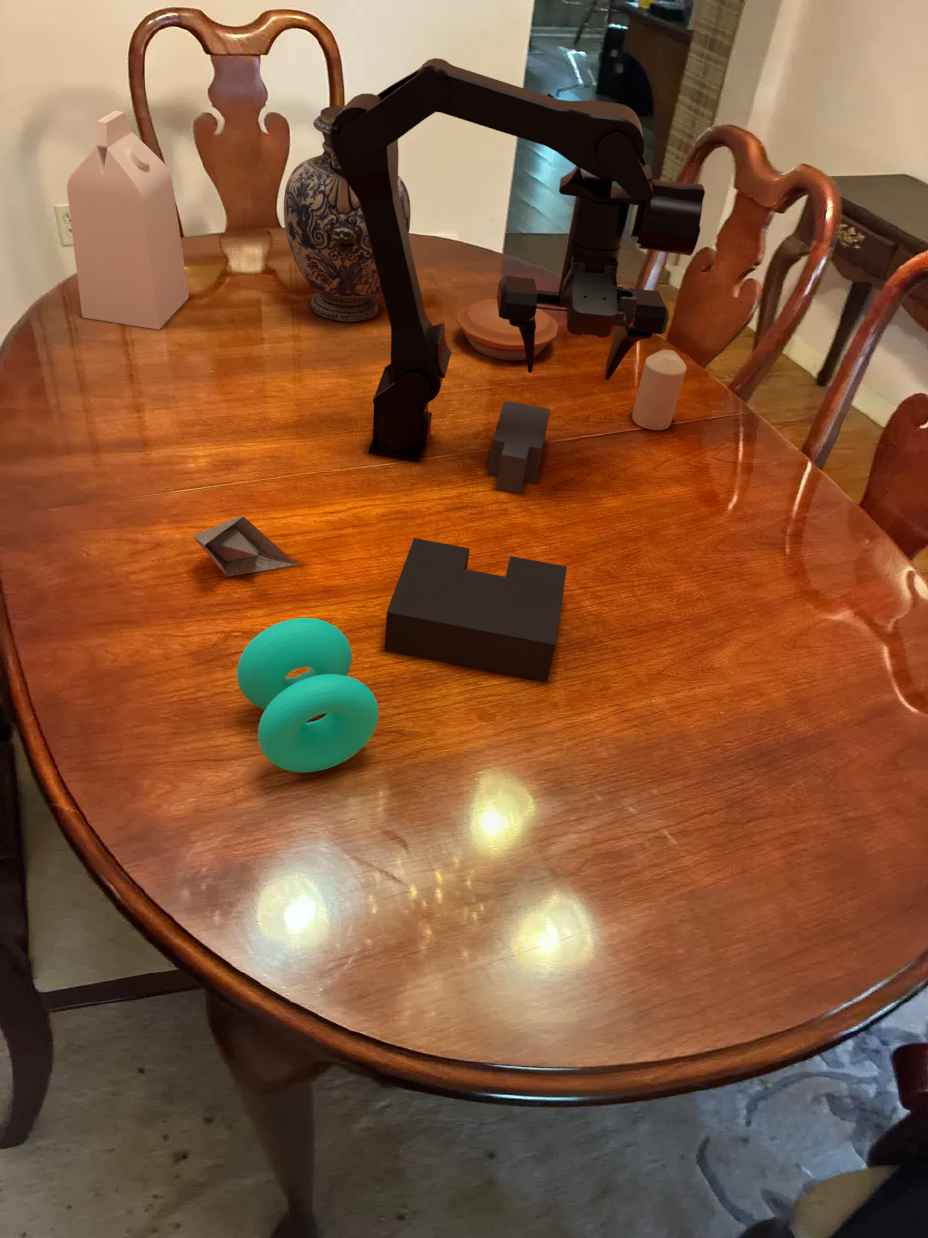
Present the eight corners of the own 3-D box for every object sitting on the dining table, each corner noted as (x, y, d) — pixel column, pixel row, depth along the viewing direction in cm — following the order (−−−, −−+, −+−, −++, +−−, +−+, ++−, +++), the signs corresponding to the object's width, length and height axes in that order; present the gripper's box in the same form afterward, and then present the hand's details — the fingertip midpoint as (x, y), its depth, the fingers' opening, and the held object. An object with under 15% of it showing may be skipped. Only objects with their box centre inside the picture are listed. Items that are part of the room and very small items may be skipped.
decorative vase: (400, 344, 139) (412, 141, 120) (275, 331, 138) (268, 125, 119) (408, 287, 155) (420, 101, 136) (296, 275, 153) (293, 85, 135)
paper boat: (269, 519, 101) (324, 538, 96) (254, 576, 102) (308, 598, 96) (175, 498, 92) (231, 519, 86) (160, 561, 92) (214, 585, 87)
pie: (571, 343, 145) (577, 312, 141) (523, 378, 134) (528, 346, 131) (488, 313, 150) (492, 282, 147) (435, 344, 140) (438, 312, 136)
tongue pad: (484, 487, 112) (489, 452, 109) (499, 434, 122) (504, 400, 119) (532, 496, 112) (539, 461, 109) (543, 442, 122) (550, 408, 118)
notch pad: (384, 650, 89) (386, 612, 86) (410, 575, 98) (413, 537, 95) (547, 682, 88) (555, 644, 85) (558, 603, 97) (567, 566, 94)
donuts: (265, 792, 76) (260, 710, 69) (237, 706, 82) (229, 624, 76) (380, 761, 79) (386, 680, 73) (344, 681, 86) (346, 600, 79)
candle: (669, 433, 127) (689, 366, 120) (630, 426, 127) (647, 358, 120) (671, 414, 131) (689, 348, 124) (632, 407, 131) (649, 341, 125)
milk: (116, 285, 144) (88, 99, 126) (188, 297, 143) (170, 111, 126) (82, 317, 135) (47, 121, 117) (159, 329, 134) (135, 134, 117)
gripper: (512, 260, 92) (492, 401, 102) (695, 279, 93) (657, 416, 104) (506, 221, 100) (488, 355, 110) (674, 238, 101) (641, 369, 112)
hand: (568, 374), depth 109 cm, fingers open, 9 cm apart
